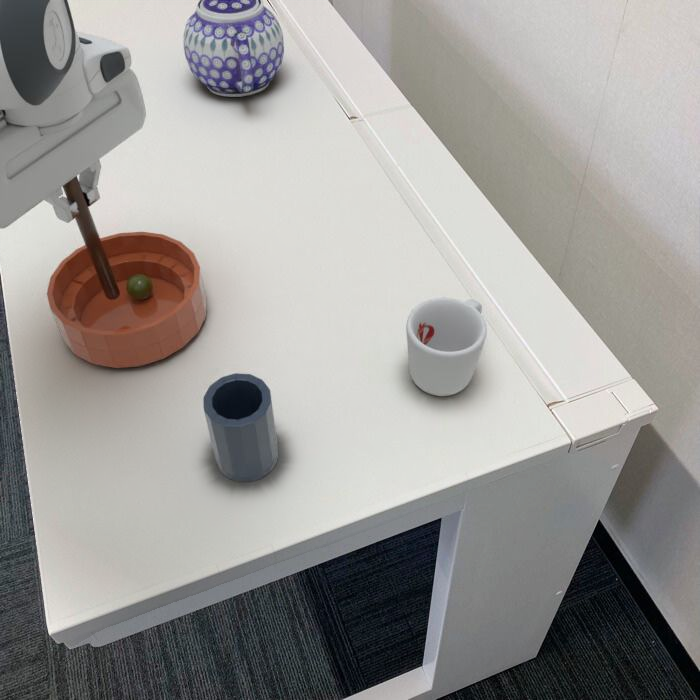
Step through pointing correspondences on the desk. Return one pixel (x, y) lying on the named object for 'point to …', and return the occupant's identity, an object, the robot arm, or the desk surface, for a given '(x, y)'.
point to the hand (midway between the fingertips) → (79, 209)
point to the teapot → (233, 46)
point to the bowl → (129, 301)
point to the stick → (92, 239)
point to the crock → (241, 426)
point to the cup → (444, 344)
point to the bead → (139, 287)
